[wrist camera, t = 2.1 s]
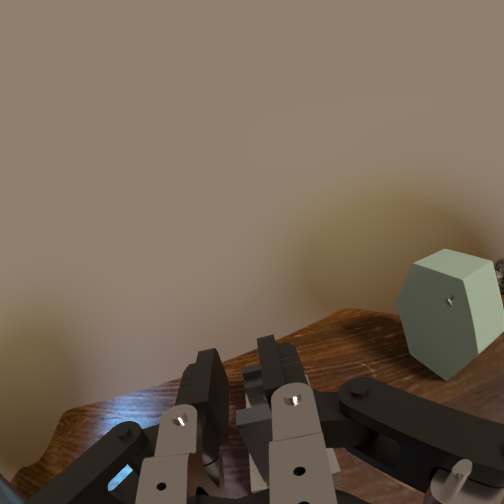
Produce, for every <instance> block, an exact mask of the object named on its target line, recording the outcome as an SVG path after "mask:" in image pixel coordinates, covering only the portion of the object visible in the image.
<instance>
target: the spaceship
mask: <svg viewBox="0 0 504 504" xmlns="http://www.w3.org/2000/svg"><path fill="white" fill-rule="evenodd" d="M497 265H498V266H497ZM500 267H502V271H501V273H499V272H500V271H499V269H500ZM503 267H504V258H501V259H499V260H497V262H496V263H495V265H494V269H495V273H496V277H497V281H498V285H499V289H500V292H502V293H504V270H503ZM502 280H503V284H502V283H501V282H500V281H502Z"/></svg>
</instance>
